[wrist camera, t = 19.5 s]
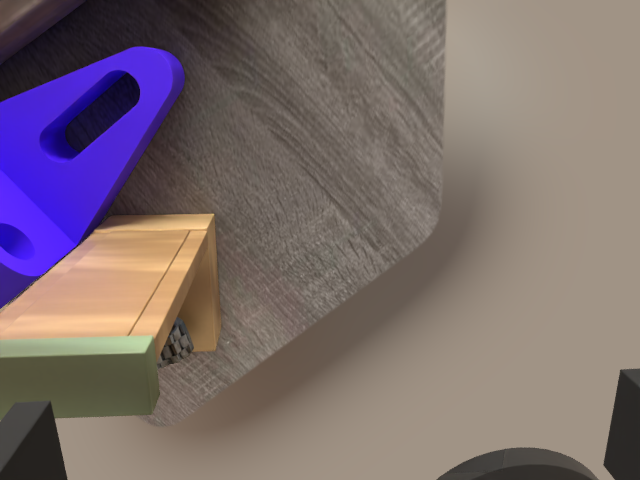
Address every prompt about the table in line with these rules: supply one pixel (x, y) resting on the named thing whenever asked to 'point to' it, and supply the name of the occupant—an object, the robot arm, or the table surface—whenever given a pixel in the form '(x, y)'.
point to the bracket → (71, 159)
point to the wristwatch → (176, 345)
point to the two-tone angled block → (111, 316)
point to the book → (29, 21)
